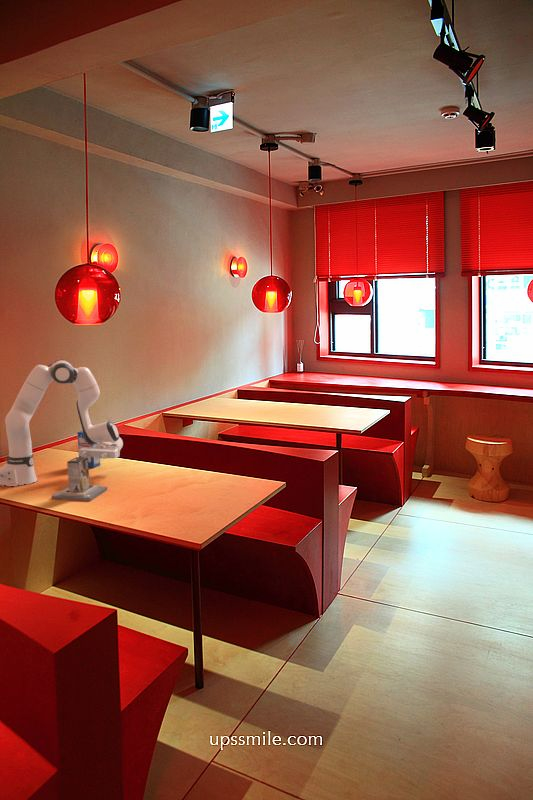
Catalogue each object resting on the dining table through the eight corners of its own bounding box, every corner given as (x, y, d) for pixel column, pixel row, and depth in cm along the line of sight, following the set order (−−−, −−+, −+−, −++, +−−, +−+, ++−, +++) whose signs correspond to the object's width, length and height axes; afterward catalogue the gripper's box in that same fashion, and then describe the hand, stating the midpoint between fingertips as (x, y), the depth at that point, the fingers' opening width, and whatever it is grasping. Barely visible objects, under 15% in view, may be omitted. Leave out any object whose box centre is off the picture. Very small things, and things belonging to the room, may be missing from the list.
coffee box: (78, 488, 304) (76, 456, 301) (90, 489, 302) (88, 457, 300) (68, 494, 295) (66, 461, 292) (81, 494, 294) (79, 462, 291)
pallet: (51, 498, 293) (51, 493, 292) (70, 487, 310) (70, 482, 310) (90, 501, 289) (90, 495, 288) (107, 489, 306) (107, 484, 306)
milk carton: (79, 466, 349) (77, 432, 346) (85, 463, 355) (83, 430, 352) (94, 468, 346) (92, 433, 343) (100, 465, 352) (98, 431, 349)
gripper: (86, 443, 326) (72, 448, 312) (122, 445, 322) (110, 451, 308) (86, 454, 327) (73, 460, 313) (122, 457, 323) (110, 463, 309)
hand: (91, 456), depth 311 cm, fingers open, 8 cm apart
